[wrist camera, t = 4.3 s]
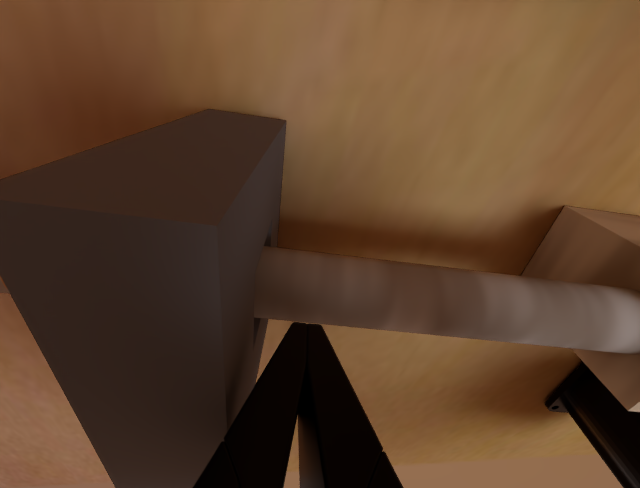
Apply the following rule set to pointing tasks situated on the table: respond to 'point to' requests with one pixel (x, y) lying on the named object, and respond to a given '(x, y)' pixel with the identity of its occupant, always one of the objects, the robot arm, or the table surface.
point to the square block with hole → (149, 284)
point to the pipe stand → (484, 295)
